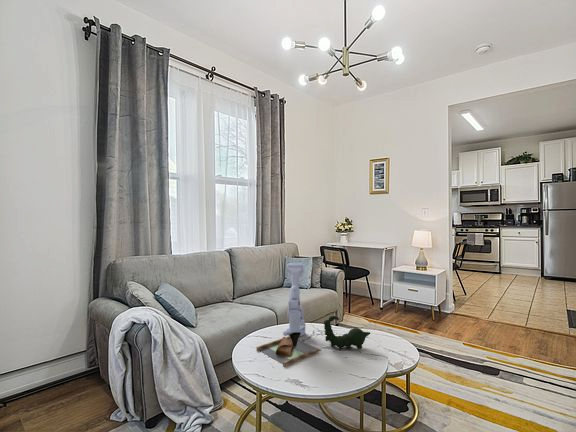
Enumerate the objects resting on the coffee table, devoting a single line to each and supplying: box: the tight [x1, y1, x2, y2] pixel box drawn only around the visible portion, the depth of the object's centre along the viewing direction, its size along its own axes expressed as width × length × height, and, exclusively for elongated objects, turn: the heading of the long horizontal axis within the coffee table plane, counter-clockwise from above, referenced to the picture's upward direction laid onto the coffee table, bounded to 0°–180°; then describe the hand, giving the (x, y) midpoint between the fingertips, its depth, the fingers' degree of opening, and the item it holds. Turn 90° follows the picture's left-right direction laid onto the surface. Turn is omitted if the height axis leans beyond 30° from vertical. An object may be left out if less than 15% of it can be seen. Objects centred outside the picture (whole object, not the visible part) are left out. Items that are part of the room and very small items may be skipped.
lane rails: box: [256, 335, 320, 367], centre depth 175 cm, size 24×24×2 cm
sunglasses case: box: [276, 336, 294, 357], centre depth 177 cm, size 18×7×7 cm
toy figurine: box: [323, 315, 371, 350], centre depth 179 cm, size 9×19×25 cm
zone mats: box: [258, 339, 322, 365], centre depth 176 cm, size 26×22×1 cm
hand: (294, 345), depth 178 cm, fingers closed, pressing on sunglasses case
